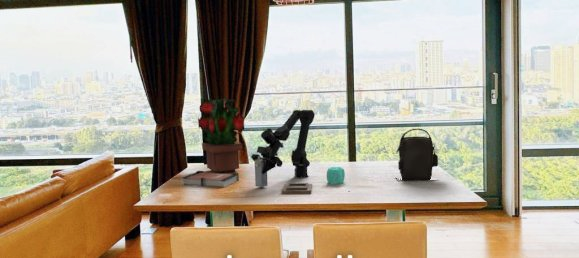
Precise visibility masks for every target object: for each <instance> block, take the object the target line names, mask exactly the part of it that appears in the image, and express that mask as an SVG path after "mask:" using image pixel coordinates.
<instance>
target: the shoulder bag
mask: <svg viewBox="0 0 579 258" xmlns="http://www.w3.org/2000/svg"><path fill="white" fill-rule="evenodd" d="M417 130H418V131H423V132H425V133H426V134H427V135H428V136H405V135H407V134H408V133H409V132H412V131H417ZM435 147H436V143H433V140H432V137H431V135H430V133H429V132H428V130H425V129H423V128H411V129H409V130H407V131H405V132H404V133H402V135H401V137H400V140H399V145H398V148H397V150H396V151H395V152H396V153H398V155H399V157H398V158H399V159H398V166H397V167H398V171H399V174H400V177H402V180H401V179H400V180H399V179H396V180H397V181H398V182H400V181H402V182H403V181H405V182H410V180H413V181H414V180H430V179H431V177H433V176H432V175H433V168H434V167H435V168H436V167H438V166H439V162H438V161H439V155H438V154H437V153H436V151H435ZM407 180H408V181H407Z"/></svg>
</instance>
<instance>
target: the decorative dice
mask: <svg viewBox="0 0 579 258" xmlns="http://www.w3.org/2000/svg"><path fill="white" fill-rule="evenodd" d="M345 175H346V173H345V169H344V168H343V167H341V166H331V167H328V168H327V170H326V180H327V182H328V184H331V185H342V184H343V183H344V181H345V178H346V177H345Z"/></svg>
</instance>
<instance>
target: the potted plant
mask: <svg viewBox="0 0 579 258" xmlns="http://www.w3.org/2000/svg"><path fill="white" fill-rule="evenodd" d="M202 101H203V102H202V104H201V105H199V111H200V113H202V115H203V116H200V118H199V117H197V118H198V119H197V120H198V123H197V125H198V128H200V130H202V131H203V132H204V133H205V134H206V136H205V137H204V138H203V140H204V142H202V143H201V149H202V150H203V151H205V153H206V168H207V169H209V170H211V172H212V173H221V174H229V173H236V170H239V169H240V160H239V159H240V158H239V157H240V156H239V155H240V154H239V151H243V143H241V142H237V140H238V139H237V137H236V136H237V133H239V134H242V132H243V131H245V118H244V116H243V115H242V114H241V112H240V113H237V112H239V107H236V106H235V107H234V106H233V105H232V104H235V103H236V99H233V98H232V99H231V98H230V99H229V98H222V99H202ZM236 131H237V132H236Z"/></svg>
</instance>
